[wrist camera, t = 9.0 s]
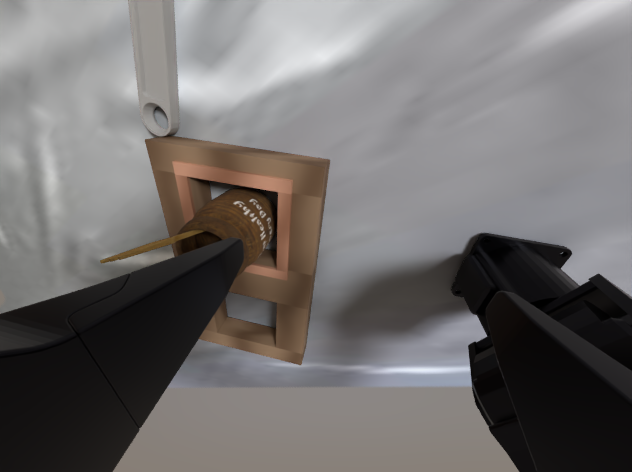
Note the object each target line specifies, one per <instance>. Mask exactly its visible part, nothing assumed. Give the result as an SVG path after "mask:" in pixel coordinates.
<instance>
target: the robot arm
mask: <svg viewBox="0 0 632 472" xmlns="http://www.w3.org/2000/svg"><path fill="white" fill-rule="evenodd" d="M486 238H489V239H488V240H487V241H484V240H485V239H486ZM562 252H564V253H562ZM560 253H562V254H560ZM571 255H572V252H571V250H569V249H568V248H567V247H564V246H559V245H553V244H547V243H541V242H536V241H530V240H524V239H518V238H512V237H507V236H501V235H495V234H489V233H484V234H482V235H480V236H479V237H478V239H477V241H476V243H475V245H474V247H473V248H472V250H471V252H470V254H469V255H468V256H467V257H466V258H465V260H464V262H463V264H462V266H461V267H460V269H459V271H458V273H457V275H456V277H455V282H454V284H453V286H452V288H451V291H452V293H453V295H455V296H459V297H464V299H465V301H466V303H467V305H468V307H469V309H470V311H471V312H472V314H474V315H477V316H478V318H479V320H480V322H481V324H482V326H483V328H484V330H485V332H486V334H487V337H486V338H484V339H482V340H480V341H478V342H473V343H471V344H470V345H468V348H469V359H470V369H471V379H472V389H473V394H474V398H475V403H476V406H477V408H478V409H479V410H480V412H481V415H482V416H483V418H484V420H485V421H486V423H487V425H488V426H489V430H490V432H491V433H492V434H493V436H494V437H495V438H496V440H497V441H498V442H499V443H500V445H501V446H502V447H503V449H504V450H505V451H506V452H507V454H508V455H509V457H510V458H511V460H512V461H513V463H514V464H515V466H516V467H517V469H518V470H519V472H632V297H631V296H630V295H628V294H627V293H625V292H624V291H623V290H621V289H620V288H618V287H617V286H616V285H614V284H613V283H611V282H610V281H609V280H607V279H606V278H604V277H603V276H602V275H600V274H597V275H595V276H593V277H591V278H589V280H590V281H588V282H586V283H585V284H583V285H581V286H579V285H578V284H577V283H576V282H575V281H574V280H572V279H571V278H570V277H569V276H568V275H567V274H566V273H565V272H563V271H562V270H561V267H562V266H563V265H564V264H565V262H566V261H567V260H568V259H569V258H570V256H571ZM243 261H244V247H243V240H242V239H239V238H234V237H230V238H227V239H224V240H221V241H219V242H216V243H213V244H210V245H207V246H205V247H202V248H199V249H196V250H193V251H190V252H188V253H185V254H182V255H179V256H176V257H174V258H171V259H168V260H165V261H162V262H160V263H157V264H154V265H151V266H148V267H145V268H143V269H140V270H137V271H134V272H132V273H131V274H126V275H123V276H120V277H117V278H114V279H111V280H108V281H106V282H103V283H100V284H97V285H94V286H91V287H87V288H84V289H81V290H78V291H75V292H71V293H68V294H65V295H62V296H58V297H55V298H52V299H48V300H45V301H42V302H38V303H35V304H32V305H28V306H25V307H22V308H18V309H15V310H12V311H9V312H5V313H2V314H0V472H113V470H114V469H115V467H116V466H117V464H118V463H119V461H120V459H121V458H122V456H123V455H124V453H125V451H126V450H127V449H128V447H129V446H130V444H131V443H132V441H133V439H134V438H135V436H136V435H137V433H138V432H139V428H141V427H142V425H143V424H144V422H145V420H146V419H147V418H148V416H149V414H150V413H151V411H152V410H153V408H154V407H155V405H156V404H157V402H158V401H159V399H160V397H161V396H162V394H163V393H164V391H165V390H166V388H167V387H168V385H169V384H170V382H171V381H172V379H173V378H174V376H175V374H176V373H177V371H178V370H179V368H180V367H181V365H182V364H183V362H184V361H185V359H186V357H187V356H188V354H189V353H190V351H191V350H192V348H193V347H194V345H195V344H196V342H197V341H198V339H199V337H200V336H201V334H202V333H203V331H204V330H205V328H206V327H207V325H208V324H209V322H210V321H211V319H212V317H213V316H214V314H215V313H216V311H217V310H218V308H219V307H220V305H221V304H222V302H223V300H224V299H225V297H226V296H227V294H228V292H229V290H230V288H231V286H232V284H233V282H234V280H235V278H236V276H237V274H238V272H239V270H240V268H241V266H242V264H243ZM456 290H459V291H456Z"/></svg>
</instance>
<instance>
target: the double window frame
mask: <svg viewBox="0 0 632 472" xmlns="http://www.w3.org/2000/svg"><path fill="white" fill-rule="evenodd" d="M145 143H146V146H147V150H148V154H149V158H150V162H151V166H152V170H153V174H154V178H155V182H156V186H157V189H158V193H159V197H160V201H161V205H162V209H163V213H164V217H165V221H166V225H167V228H168V232H169V236H170V237H173V236H176V235H177V234H178V232H179V231H180V230H181V228H182V227H183V226H184V225H185V224H186V223H187V222H189V221H190V220H192V219H193V217H194V215H195V214H196V213H197V212H198V210H200V209H201V208H202V207H203V206H205V205H206V204H207V203H209V202H210V201H212V198H211V191H210V183H209V180H210V181H216V182H222V183H228V184H234V185H240V186H246V187H251V188H257V189H263V190H269V191H275V192H278V222H277V251H272V250H268V249H265V250H264V251H263V252H262V254H261V255H260V256H259V258H258V259H257V260H256V261H255V262H254V263H252V264H251V265H250V266H248V267H246V269H245V270H244V271H243V272H242V273H241V274H240V275H239V276H238V277H237V278H235V280H234V282H233V284H232V286H231V288H230V290H229V292H232V293H236V294H241V295H245V296H250V297H254V298H258V299H263V300H267V301H272V302H276V303H277V320H276V328H272V327H268V326H264V325H260V324H255V323H251V322H247V321H243V320H239V319H235V318H231V317H228V316H227V309H226V302H225V299H224V300H223V302H222V304H221V305H220V307H219V308H218V310H217V311H216V313H215V314H214V316H213V317H212V319H211V321H210V322H209V324H208V325H207V327H206V328H205V330H204V331H203V333H202V334H201V336H200V337H199V339H201V340H205V341H209V342H213V343H217V344H220V345H224V346H228V347H232V348H236V349H240V350H244V351H248V352H252V353H255V354H259V355H263V356H267V357H271V358H275V359H279V360H283V361H287V362H291V363H294V364H298V365H301V364H302V360H303V356H304V352H305V349H306V343H307V335H308V327H309V319H310V312H311V304H312V296H313V288H314V281H315V273H316V265H317V258H318V250H319V242H320V234H321V227H322V219H323V211H324V203H325V196H326V188H327V180H328V173H329V165H330V160H328V159H322V158H315V157H308V156H302V155H295V154H288V153H282V152H275V151H269V150H262V149H255V148H249V147H242V146H235V145H229V144H222V143H215V142H209V141H202V140H195V139H189V138H182V137H176V136H169V135H168V136H163V137H157V138H151V139H145ZM172 248H173V252H174V256H175V257H176V256H178V254H177V251H176V246H175V243H172Z"/></svg>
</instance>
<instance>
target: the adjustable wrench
mask: <svg viewBox="0 0 632 472" xmlns="http://www.w3.org/2000/svg"><path fill="white" fill-rule="evenodd" d="M128 4H129V13H130V22H131V32H132V41H133V50H134V59H135V69H136V78H137V87H138V96H139V106H140V114H141V118H142V121H143V123H144V125H145V126H146V127H147V129H148V130H149V131H151V132H152V133H153V134H155V135H157V136H166V135H171V134H175V133H176V132H177V131H178V129H179V125H180V118H179V97H178V75H177V54H176V33H175V12H174V0H128ZM158 106H160V107H161V108H162V109H163V110H164V112H165V113H166V115H167V118H168V122H169V126H168V129H163V128H162V127H161V126H160V125H159V124H158V123H157V121H156V119H155V115H154V110H155V108H156V107H158Z"/></svg>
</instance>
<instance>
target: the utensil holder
mask: <svg viewBox="0 0 632 472" xmlns="http://www.w3.org/2000/svg"><path fill="white" fill-rule="evenodd" d="M277 222H278V217H277V213H276V210H275V208H274V206H273V204H272V203H271V201H270V200H269V199H268V198H267V197H266V196H265V195H263V194H262V193H260V192H259V191H257V190H254V189H251V188H247V187H238V188H234V189H231V190H229V191H227V192H225V193H223V194H221V195H220V196H218V197H217V198H215V199H213V200H212V201H210V202H209V203H207V204H206V205H205V206H203V207H202V208H201V209H200V210H198V212H197V213H196V214H195V215H194V217H193V219H192V220H190V221H189V222H187V223H186V224H185V225H184V226H183V227H182V228H181V230H180V231H179V232H178V234H177V235H176V236H173V237H170V238H167V239H163V240H159V241H155V242H152V243H149V244H146V245H143V246H140V247H137V248H135V249H132V250H129V251H126V252H123V253H120V254H118V255H115V256H112V257H109V258H106V259H103V260H101V261H100V262H101V263H106V262H109V261H110V262H111V261H115V260H118V259H119V260H121V259H124V258H128V257H131V256H134V255H137V254H141V253H144V252H147V251H150V250H153V249H157V248H160V247H163V246H166V245H170V244H172V243H175V246H176V251H177V254H178V256H179V255H182V254H185V253H188V252H190V251H193V250H196V249H199V248H202V247H205V246H207V245H210V244H213V243H216V242H219V241H221V240H224V239H227V238H230V237H234V238H239V239H242V240H243V247H244V261H243V264H242V266H241V268H240V270H239V272H238V274H237V276H236V278H237V277H238V276H239V275H240V274H241V273H242V272H243V271H244V270H245V269H246V267H248V266H250V265H251V264H252V263H254V262H255V261H256V260H257V259H258V258H259V256H260V255H261V254H262V252H263V251H264V250H265V248H266V247H267V245H268V244H269V243H270V241H271V240H272V238H273V236H274V234H275V232H276V230H277Z"/></svg>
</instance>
